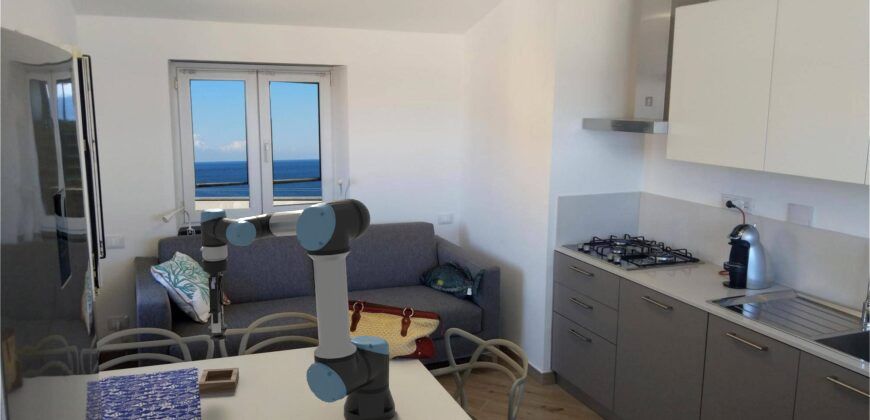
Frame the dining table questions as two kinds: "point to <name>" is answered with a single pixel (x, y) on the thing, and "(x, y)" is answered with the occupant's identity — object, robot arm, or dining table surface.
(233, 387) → the walnut holder
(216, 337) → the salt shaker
